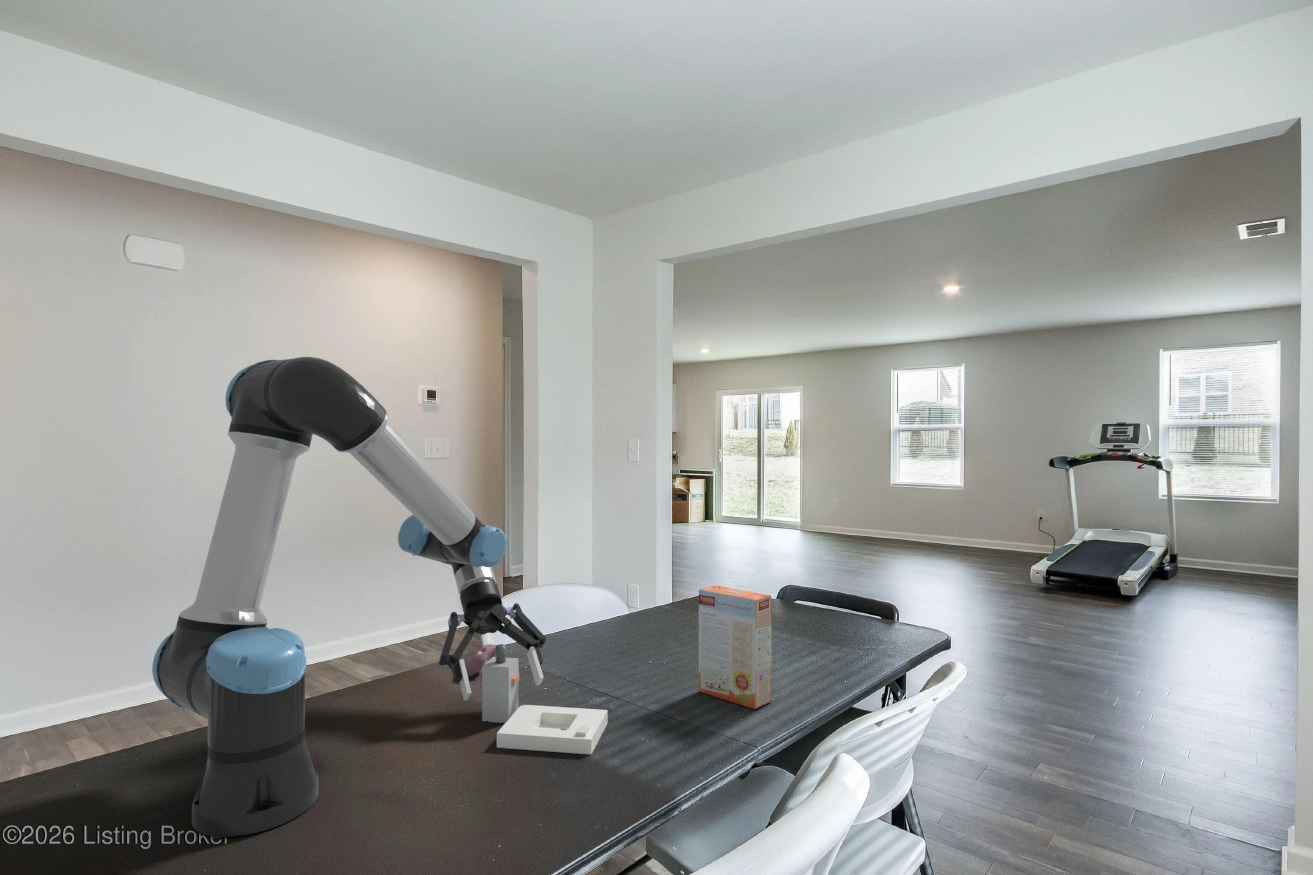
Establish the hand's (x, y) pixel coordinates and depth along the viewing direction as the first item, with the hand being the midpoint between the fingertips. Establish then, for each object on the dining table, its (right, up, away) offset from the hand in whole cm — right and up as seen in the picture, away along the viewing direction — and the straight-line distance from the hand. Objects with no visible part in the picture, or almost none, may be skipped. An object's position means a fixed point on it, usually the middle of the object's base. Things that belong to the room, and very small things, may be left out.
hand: (505, 689), depth 124 cm
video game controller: (-11, -6, +25) cm, 28 cm away
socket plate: (+10, -6, -6) cm, 13 cm away
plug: (-1, -6, +1) cm, 6 cm away
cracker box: (+43, -6, +11) cm, 45 cm away
